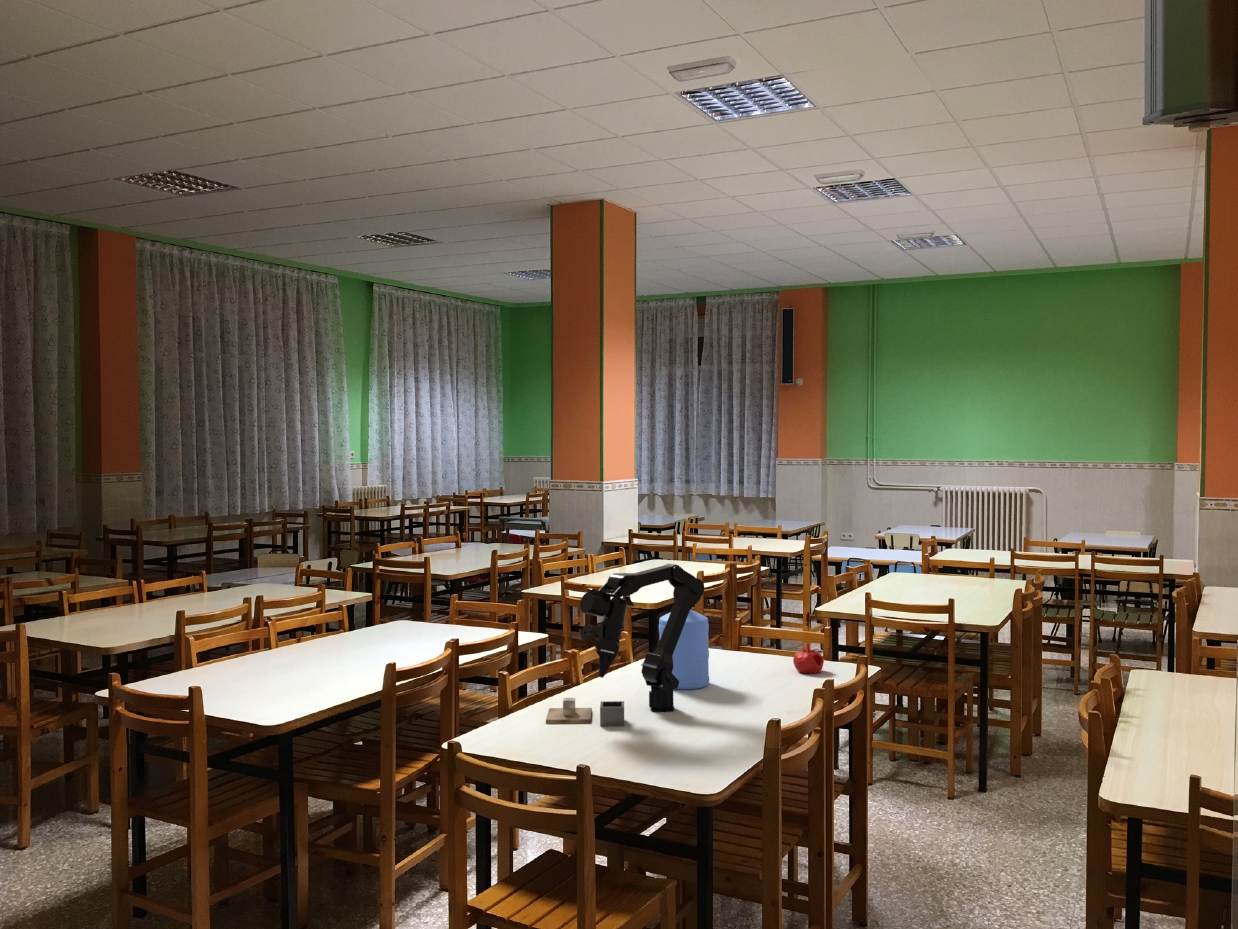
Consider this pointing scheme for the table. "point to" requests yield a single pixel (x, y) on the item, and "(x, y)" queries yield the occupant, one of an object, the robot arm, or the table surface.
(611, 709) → the grey cube shelf
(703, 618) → the water jug
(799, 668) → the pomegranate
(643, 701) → the table surface
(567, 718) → the post block
